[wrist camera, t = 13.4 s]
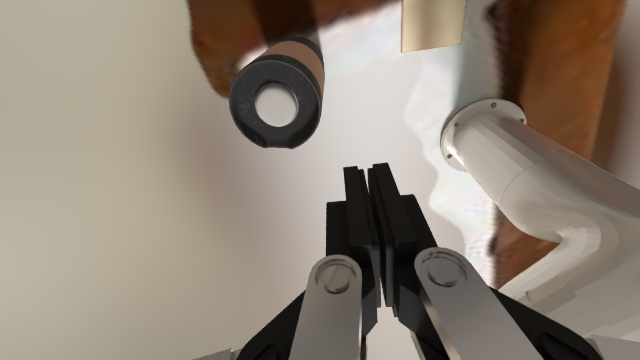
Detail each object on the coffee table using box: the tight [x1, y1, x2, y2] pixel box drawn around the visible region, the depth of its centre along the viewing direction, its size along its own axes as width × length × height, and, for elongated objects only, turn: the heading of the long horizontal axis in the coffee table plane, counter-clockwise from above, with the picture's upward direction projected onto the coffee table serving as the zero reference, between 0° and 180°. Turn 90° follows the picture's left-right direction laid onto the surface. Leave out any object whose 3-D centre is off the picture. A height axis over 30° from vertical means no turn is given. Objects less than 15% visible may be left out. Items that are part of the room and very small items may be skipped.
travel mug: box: [229, 37, 325, 149], centre depth 29 cm, size 8×8×20 cm
